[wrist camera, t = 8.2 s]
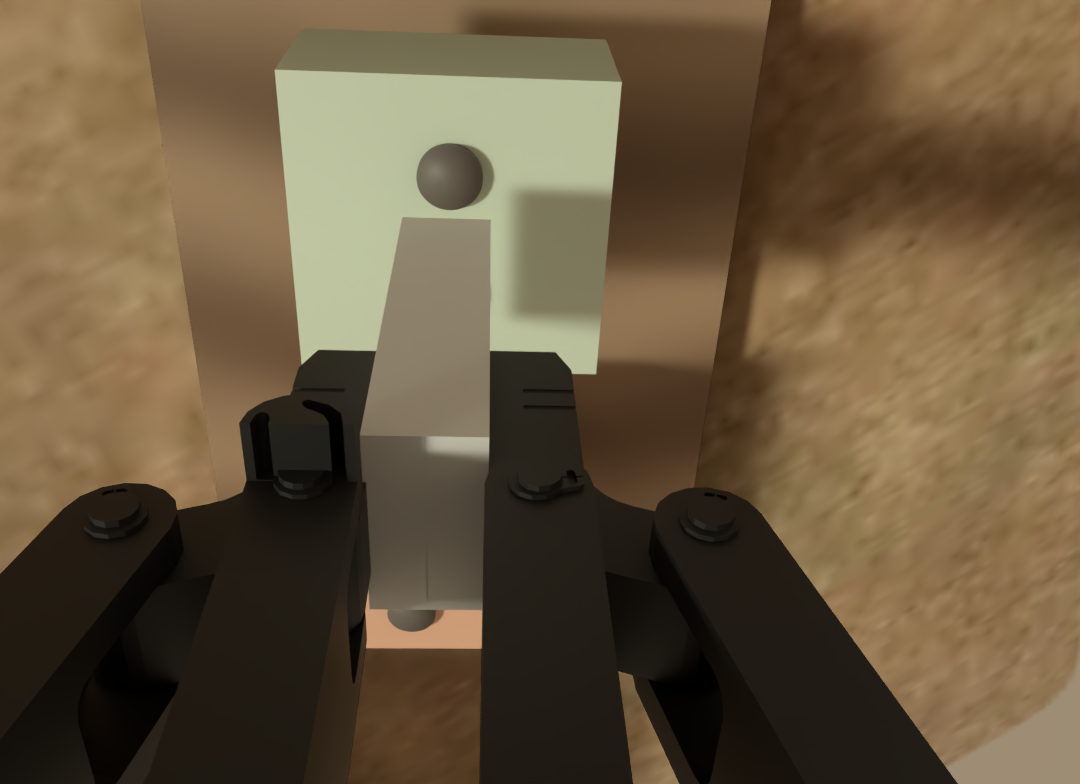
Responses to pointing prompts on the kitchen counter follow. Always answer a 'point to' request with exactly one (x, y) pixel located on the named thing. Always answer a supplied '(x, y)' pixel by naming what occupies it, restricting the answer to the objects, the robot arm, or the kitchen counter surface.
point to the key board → (634, 229)
